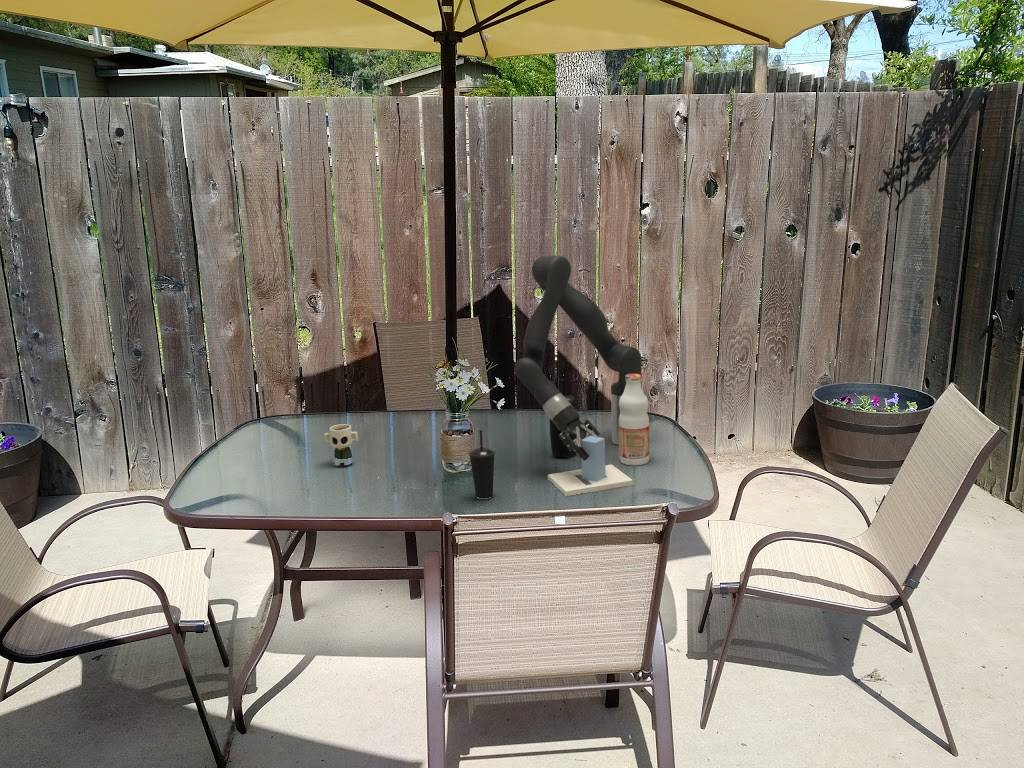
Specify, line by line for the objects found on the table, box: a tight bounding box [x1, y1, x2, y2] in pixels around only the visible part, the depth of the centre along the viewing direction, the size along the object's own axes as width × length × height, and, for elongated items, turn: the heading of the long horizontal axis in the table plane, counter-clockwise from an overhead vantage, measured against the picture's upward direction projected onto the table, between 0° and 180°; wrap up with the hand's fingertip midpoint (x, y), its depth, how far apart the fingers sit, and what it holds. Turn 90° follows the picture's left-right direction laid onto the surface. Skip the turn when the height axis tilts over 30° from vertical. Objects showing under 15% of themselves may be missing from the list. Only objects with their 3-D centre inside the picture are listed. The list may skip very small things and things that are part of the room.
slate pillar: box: [580, 436, 606, 482], centre depth 240 cm, size 5×5×12 cm
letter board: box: [547, 464, 634, 497], centre depth 242 cm, size 21×15×2 cm
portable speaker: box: [549, 394, 577, 459], centre depth 264 cm, size 9×9×20 cm
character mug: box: [323, 423, 359, 459], centre depth 266 cm, size 11×7×13 cm, turn 90°
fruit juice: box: [618, 374, 650, 466], centre depth 254 cm, size 9×9×28 cm
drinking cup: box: [468, 429, 496, 498], centre depth 232 cm, size 8×8×20 cm
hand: (594, 454), depth 239 cm, fingers open, 8 cm apart
